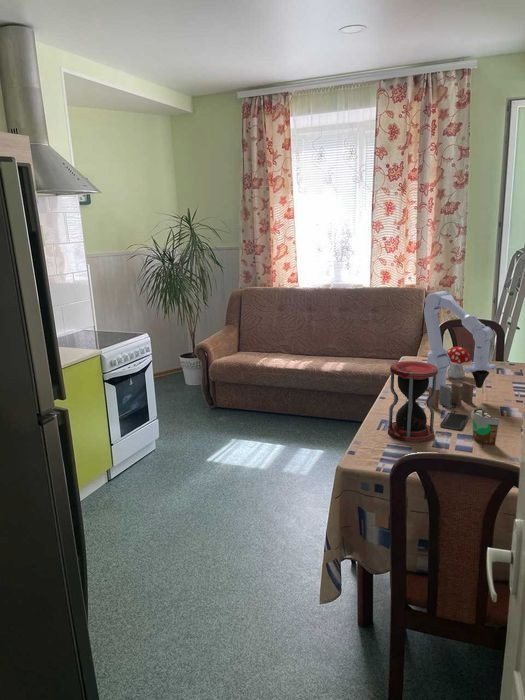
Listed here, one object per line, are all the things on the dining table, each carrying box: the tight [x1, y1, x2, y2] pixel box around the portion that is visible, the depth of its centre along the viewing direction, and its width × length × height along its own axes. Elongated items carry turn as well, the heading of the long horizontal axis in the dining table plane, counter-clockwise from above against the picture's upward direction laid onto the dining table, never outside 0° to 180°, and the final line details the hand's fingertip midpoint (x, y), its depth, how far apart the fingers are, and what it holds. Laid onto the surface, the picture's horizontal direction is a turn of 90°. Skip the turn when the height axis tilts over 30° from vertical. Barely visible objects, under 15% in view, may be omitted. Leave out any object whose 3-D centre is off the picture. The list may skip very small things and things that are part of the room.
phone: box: [439, 412, 470, 432], centre depth 195 cm, size 8×1×15 cm
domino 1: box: [427, 386, 440, 409], centre depth 211 cm, size 2×5×8 cm, turn 18°
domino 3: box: [450, 382, 462, 406], centre depth 214 cm, size 2×5×8 cm, turn 17°
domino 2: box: [439, 384, 451, 408], centre depth 212 cm, size 2×5×8 cm, turn 18°
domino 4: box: [461, 381, 475, 404], centre depth 215 cm, size 2×5×8 cm, turn 17°
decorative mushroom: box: [446, 346, 473, 380], centre depth 248 cm, size 14×14×15 cm
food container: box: [470, 406, 500, 446], centre depth 178 cm, size 12×6×10 cm, turn 5°
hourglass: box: [387, 360, 438, 443], centre depth 183 cm, size 16×16×25 cm
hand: (478, 387), depth 216 cm, fingers closed
